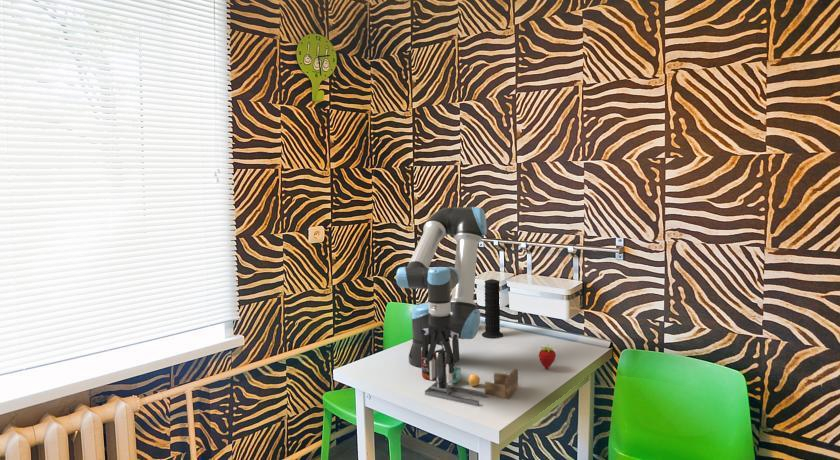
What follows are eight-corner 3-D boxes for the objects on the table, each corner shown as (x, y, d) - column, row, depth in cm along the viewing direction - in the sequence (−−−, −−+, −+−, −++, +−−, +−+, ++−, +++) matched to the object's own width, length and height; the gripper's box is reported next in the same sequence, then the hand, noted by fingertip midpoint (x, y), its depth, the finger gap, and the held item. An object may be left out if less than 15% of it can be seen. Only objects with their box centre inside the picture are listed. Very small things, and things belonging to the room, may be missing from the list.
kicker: (430, 392, 166) (429, 352, 165) (448, 377, 178) (447, 340, 177) (446, 395, 163) (445, 354, 162) (463, 380, 176) (462, 342, 174)
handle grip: (480, 338, 223) (503, 339, 221) (480, 281, 221) (502, 281, 219) (482, 331, 233) (503, 332, 231) (481, 276, 230) (503, 277, 228)
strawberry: (558, 367, 186) (558, 342, 185) (550, 374, 180) (550, 347, 179) (544, 364, 190) (544, 339, 189) (535, 370, 184) (535, 344, 183)
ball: (466, 386, 171) (466, 375, 170) (471, 382, 174) (471, 371, 174) (477, 388, 169) (477, 377, 168) (481, 384, 172) (481, 373, 172)
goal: (485, 394, 164) (484, 375, 164) (495, 383, 173) (495, 365, 172) (508, 399, 160) (508, 380, 160) (517, 387, 169) (517, 369, 168)
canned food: (417, 376, 180) (416, 347, 179) (432, 370, 186) (432, 342, 185) (432, 382, 175) (431, 352, 174) (447, 375, 181) (446, 347, 180)
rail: (424, 394, 165) (424, 391, 165) (435, 385, 172) (435, 382, 172) (477, 405, 156) (477, 402, 156) (486, 396, 163) (486, 392, 163)
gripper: (410, 313, 165) (411, 379, 167) (460, 319, 156) (461, 389, 158) (420, 308, 172) (422, 371, 174) (469, 313, 163) (470, 380, 165)
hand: (440, 380), depth 166 cm, fingers open, 6 cm apart
